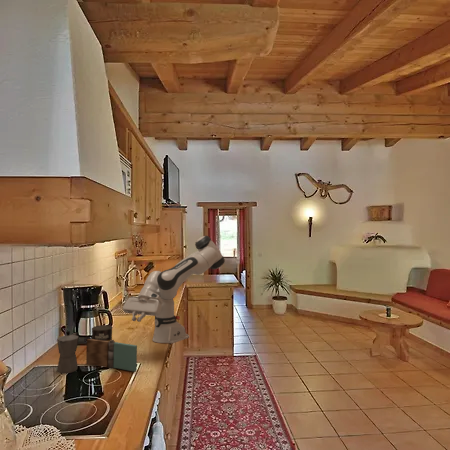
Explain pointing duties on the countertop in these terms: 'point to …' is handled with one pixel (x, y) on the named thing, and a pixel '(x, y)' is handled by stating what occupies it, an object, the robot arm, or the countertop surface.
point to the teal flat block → (124, 356)
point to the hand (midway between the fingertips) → (135, 320)
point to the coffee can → (102, 332)
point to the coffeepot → (67, 353)
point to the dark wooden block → (99, 352)
